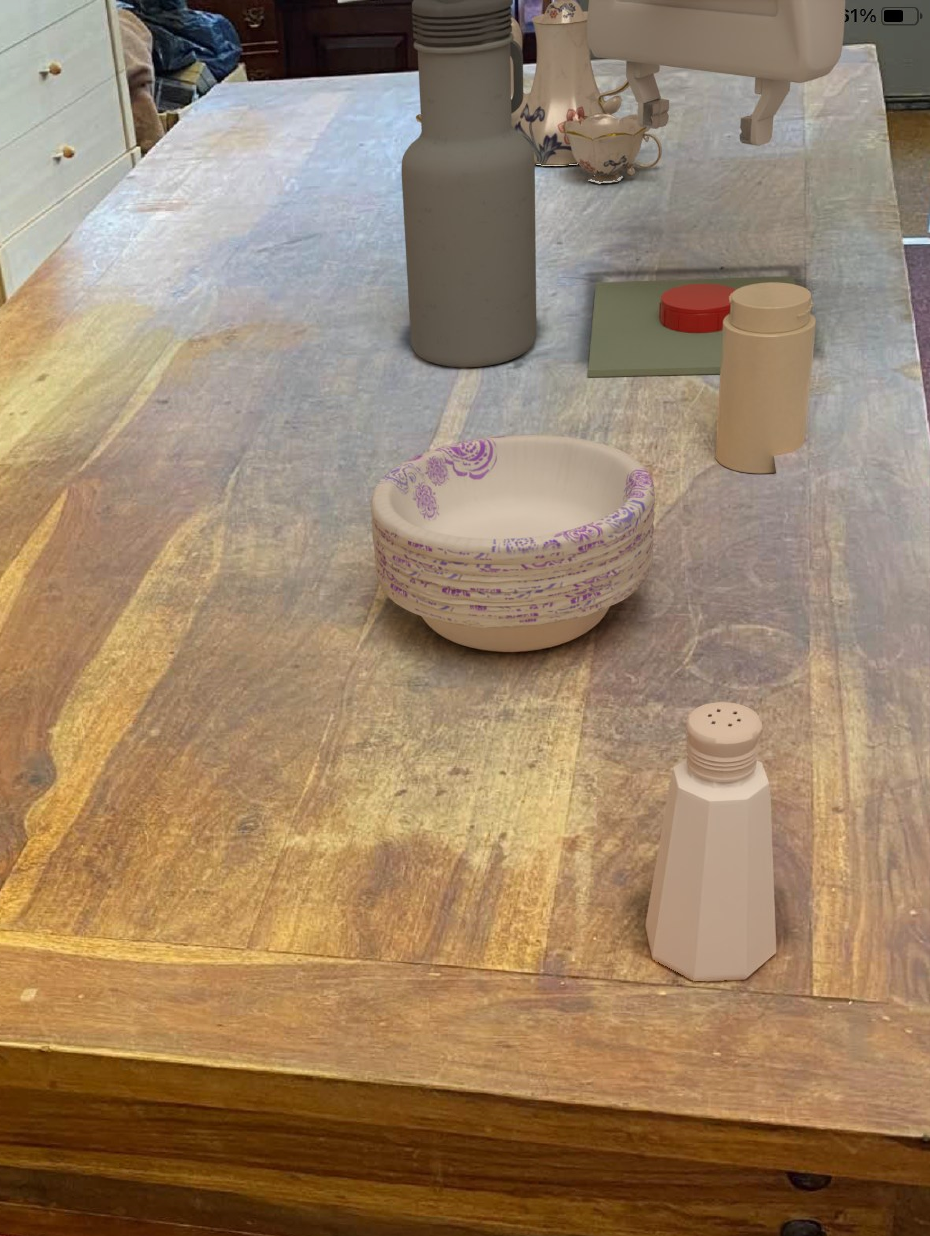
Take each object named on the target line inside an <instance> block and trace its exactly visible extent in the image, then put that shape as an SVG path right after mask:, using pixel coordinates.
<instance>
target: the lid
mask: <svg viewBox="0 0 930 1236" xmlns="http://www.w3.org/2000/svg"><path fill="white" fill-rule="evenodd" d="M735 290H736V289H734V288H731V287H728V286H723V285H717V284H691V285H684V286H679V287H675V288H672V289H670V290H667V291H666V292H664V293H663V294H662V296H661V302H660V308H659V319H660V322H661V324H662V325H663V326H665V327H666V328H669V329H671V330H674V331H679V332H686V333H709V332H716V331H721V330H723V320H724V318H725V317H726V316H727V315H728V314H730V305H731V302H729V296H730V295H731V293H733V292H734V291H735Z"/></svg>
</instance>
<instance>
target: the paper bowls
mask: <svg viewBox="0 0 930 1236" xmlns="http://www.w3.org/2000/svg"><path fill="white" fill-rule="evenodd" d="M654 486H655V485H654V480H653V478H652V476H651V474H650V473H649V471H648V469H647V468H646V466H644V464H643V463H641V462H640V461H639V460H638V459H637V458H635V457H633V456H632V455H630V454H629V453H626V452H625V451H623V450H621V449H618V448H616V447H614V446H610V445H608V444H604V443H601V442H597V441H593V440H589V439H584V438H578V437H572V436H564V435H563V436H562V435H549V434H548V435H545V434H515V435H514V434H513V435H509V434H508V435H499V436H489V437H481V438H475V439H469V440H465V441H459V442H457V443H450V444H448V445H443V446H441V447H438V448H434V449H432V450H429V451H425V452H423V453H420V454H419V455H415V456H413V457H411V458H408V459H407V460H405V461H403V462H401V463H399V464H398V465H396V466H395V467H394V468H391V470H389V471H388V472H387V473H386V474H385V475H384V476H383V477H382V478H381V479H380V480H379V481H378V482H377V484H376V486H375V488H374V490H373V492H372V495H371V498H370V506H369V507H370V513H371V527H372V529H371V530H372V543H373V550H374V563H375V565H374V566H375V572H376V579H377V582H378V583H379V586H380V588H381V590H382V592H384V594H385V595H387V597H388V599H390V600H391V601H392V602H394V604H395V605H398V606H399V607H400V608H402V609H403V610H406V611H408V612H410V613H412V614H414V615H417V616H420V617H421V618H422V619H423V621H424V622H425V623H426V624H427V625H428V626H429V627H430V629H432V630H433V631H434V632H435V633H437V634H438V635H440V636H441V637H443V638H444V639H446V640H449V641H450V642H453V643H455V644H458V645H461V646H464V647H468V648H472V649H477V650H481V651H487V652H488V651H489V652H500V653H519V652H521V653H522V652H530V651H539V650H543V649H549V648H552V647H556V646H560V645H562V644H565V643H568V642H571V641H573V640H575V639H577V638H579V637H581V636H582V635H585V634H586V633H588V632H589V631H591V630H592V629H593V628H594V627H596V626H597V625H598V624H599V623H600V622H601V621H602V619H603V618H604V617H605V616H606V614H607V612H608V611H609V609H610V607H611V606H613V605H617V604H618V603H619V602H623V601H624V600H626V599H628V598H629V597H630V596H631V595H632V594H633V593H635V592H636V591H637V590H639V588H640V587H642V586H643V584H644V583H645V582H646V580H647V578H648V576H649V573H650V571H651V569H652V566H653V559H654V558H653V556H654V549H653V548H654V535H655V526H654V521H655V506H656V493H655V487H654Z"/></svg>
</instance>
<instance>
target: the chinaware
mask: <svg viewBox="0 0 930 1236" xmlns="http://www.w3.org/2000/svg"><path fill="white" fill-rule="evenodd" d="M587 17H588V10H587V11H583V9H582V7H581V5H580V4H579V3H578V2H577V1H576V0H555V1H552V2H551V3H549V4H548V6H547V7H546V10H545V11H544V13H541V14H538V15H535V16H533V17H532V18H530V21H531V22H532V24H533V27H534V28H533V29H534V33H535V39H536V63H535V72H534V77H533V81H532V85H531V90H530V92H528V93H525V92H524V91H523V101H522V104H521V106H520V107H519V108H518V109H517V110H516V111H515V112H514V113H511V121H512V127H513V129H514V130H515V131H517V132H518V133H520V134H521V135H523V136H524V137H525V138H526V139H527V141H528V142H529V143H530V145H531V146H532V149H533V153H534V161H535V164H541V165H569V164H577V163H578V164H579V165H578V166H580V167H581V168H582V169H583V170H584V171H585V172H588V173H589V174H592V175H595V176H594V177H593V176H592V177H590V178H588V179H589V180H590V179H592V180H595V181H599V182H603V181H613V180H615V181H618V180H617V179H618V178H619V177H621V176H623V175H622V174H619V173H621V172H623V171H624V170H626V173H627V175H629V176H634V175H635V174H636V169H635V168H634V166H638V167H640V168H645V169H650V168H653V167H655V166H656V165H657V164H658V163H659V161H660V160H661V158H662V154H663V148H662V147H663V146H662V143H661V141H660V139H659V138H658V137H657V136H656V135H654V134H652V133H647V132H649V131H650V130H651V128H644V127H640V126H639V125H638V114H629V115H626V116H624V117H621V118H619V117H617V116H615V115H613V114H616V113H617V112H618V111H619V110H620V108H621V107H622V102H623V98H622V97H621V95H619V94H622V93H623V92H624V91H626V90H627V89H628V88H629V87H630V85H629V82H628V80H627V79H626V80H625V81H624V83H622V85H620V86H619V87H616V88H614V89H612V90H608V91H603V92H600V90H599V87H598V85H597V82H596V79H595V74H594V71H593V66H592V59H591V49H590V47H589V44H588V42H587ZM511 20H512V24H511V26H512V32H511V33H512V34H513V36H514V39H513V40H514V41H515V42H517V43H518V44H519V46H520V47H521V49H522V50H523V34H522V30H521V29H522V28H521V26H520V24H519V22H518V21H517V20H516V19H515V18H514V17H513V16H512V18H511ZM510 66H511V99H512V97H513V93H514V77H513V60H512V58H511V56H510ZM609 96H612V97H610V98H609V99H607V100H605V99H604V98H605V97H609ZM415 120H416V122H417V123H420V124H421V113H418V114H416V116H415ZM650 138H652V139H653V140H654V141H655V142H656V144H657V147H658V154H657V155H658V156H657V158H656V159H655V161H653V162H652V163H651V164H645V163H644V164H643V163H640V162H634V161H635V160H636V158H637V156H638V155H639V153H640V150H641V147H642V145H643V140H644V141H645V142H646V143H648V142H649V141H650Z"/></svg>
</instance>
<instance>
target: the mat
mask: <svg viewBox="0 0 930 1236" xmlns="http://www.w3.org/2000/svg"><path fill="white" fill-rule="evenodd" d="M772 282H774V283H788V284H794V285H797V284H796V279H795V276H794V275H783V276H781V275H780V276H778V275H777V276H752V277H751V276H750V277H749V276H748V277H725V278H724V277H723V278H722V277H721V278H693V279H691V278H689V279H666V280H665V279H663V280H636V281H635V280H633V281H632V280H631V281H629V280H628V281H607V282H606V281H603V282H601V281H600V282H595V284H594V285H595V286H594V297H593V298H594V299H593V310H592V318H591V319H592V321H591V331H590V342H589V343H590V344H589V353H588V354H589V355H588V367H587V377H588V378H604V377H605V378H607V377H608V378H610V377H652V376H655V377H657V376H690V375H692V376H695V375H697V376H698V375H720V366H721V348H722V330H721V331H716V332H709V333H686V332H679V331H674V330H671V329H669V328H666V327H665V326H663V325H662V324H661V322H660V319H659V308H660V302H661V296H662V294H663V293H664V292H666V291H667V290H670V289H672V288H675V287H679V286H684V285H691V284H717V285H723V286H728V287H731V288H734V289H736V290H737V289H739V288H741V287H744V286H747V285H752V284H758V283H772Z"/></svg>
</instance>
